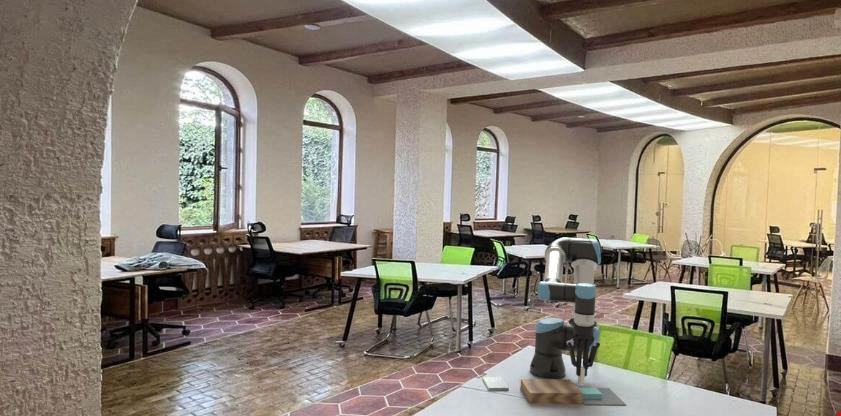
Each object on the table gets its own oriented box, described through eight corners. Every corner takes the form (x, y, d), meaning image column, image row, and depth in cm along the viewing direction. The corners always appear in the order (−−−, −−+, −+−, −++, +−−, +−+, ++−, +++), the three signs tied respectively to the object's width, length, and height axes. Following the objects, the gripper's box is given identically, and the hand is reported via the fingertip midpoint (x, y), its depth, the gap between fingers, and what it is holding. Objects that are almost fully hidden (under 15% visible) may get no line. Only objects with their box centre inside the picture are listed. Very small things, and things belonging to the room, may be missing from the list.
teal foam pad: (578, 398, 203) (579, 393, 203) (573, 392, 209) (573, 387, 209) (601, 399, 203) (602, 393, 203) (595, 392, 209) (596, 387, 209)
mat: (584, 405, 198) (584, 404, 198) (569, 388, 214) (569, 387, 214) (626, 405, 199) (626, 404, 199) (608, 388, 215) (608, 387, 215)
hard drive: (509, 387, 210) (501, 376, 222) (488, 387, 209) (482, 376, 221) (508, 392, 210) (501, 380, 222) (488, 392, 209) (481, 380, 221)
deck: (529, 403, 198) (529, 392, 198) (520, 388, 212) (520, 378, 212) (582, 403, 199) (582, 393, 199) (569, 389, 213) (569, 379, 213)
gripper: (570, 326, 201) (567, 387, 202) (604, 326, 201) (601, 388, 203) (564, 321, 208) (561, 380, 209) (596, 321, 209) (593, 380, 210)
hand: (581, 384), depth 206 cm, fingers closed
